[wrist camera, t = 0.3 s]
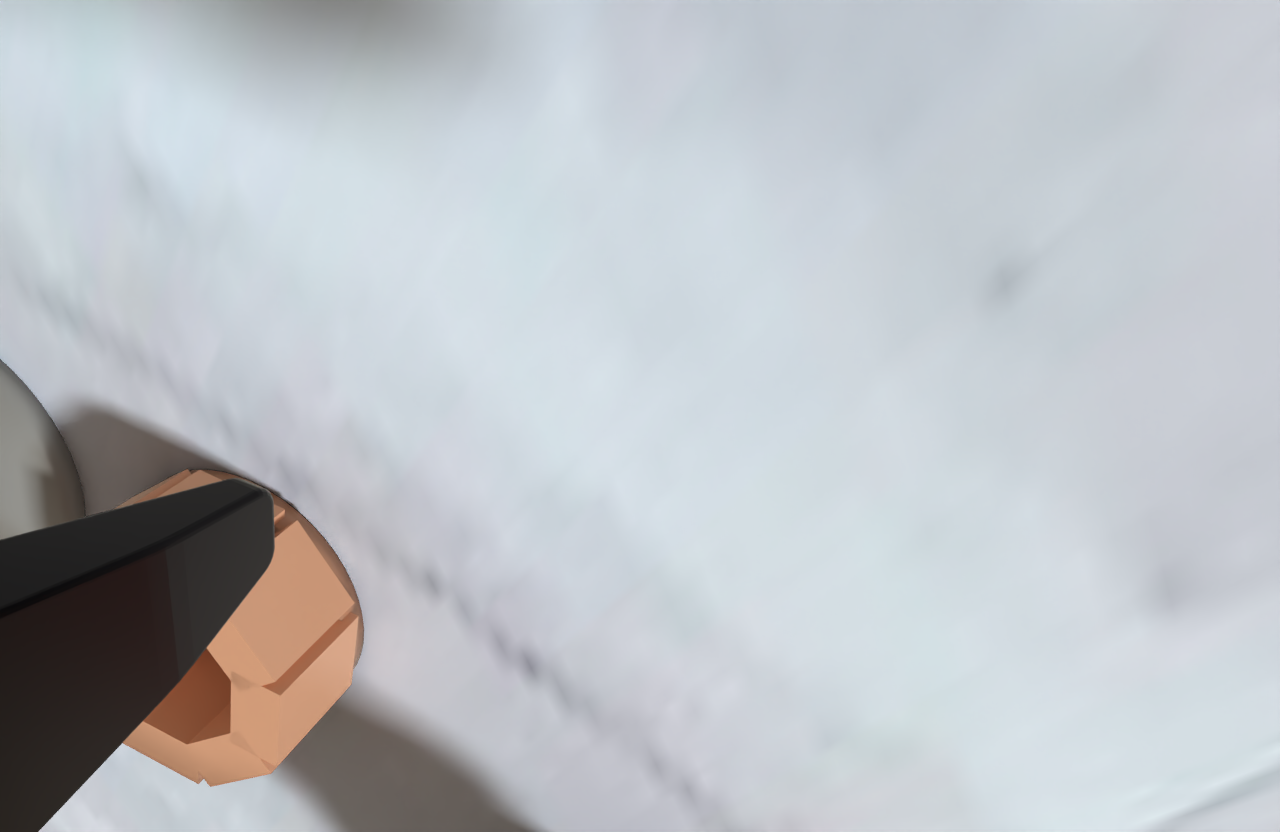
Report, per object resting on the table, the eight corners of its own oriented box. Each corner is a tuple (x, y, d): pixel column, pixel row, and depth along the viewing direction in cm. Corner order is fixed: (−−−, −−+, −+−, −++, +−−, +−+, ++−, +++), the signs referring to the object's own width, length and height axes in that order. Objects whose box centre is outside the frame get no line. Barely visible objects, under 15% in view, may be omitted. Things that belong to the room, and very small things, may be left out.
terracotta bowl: (353, 731, 36) (273, 824, 32) (146, 625, 38) (48, 703, 34) (375, 538, 31) (284, 623, 27) (136, 428, 33) (19, 493, 29)
